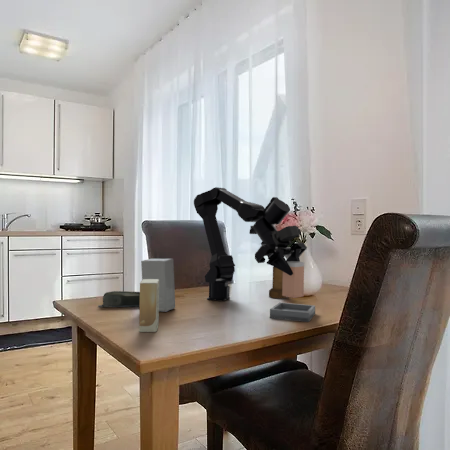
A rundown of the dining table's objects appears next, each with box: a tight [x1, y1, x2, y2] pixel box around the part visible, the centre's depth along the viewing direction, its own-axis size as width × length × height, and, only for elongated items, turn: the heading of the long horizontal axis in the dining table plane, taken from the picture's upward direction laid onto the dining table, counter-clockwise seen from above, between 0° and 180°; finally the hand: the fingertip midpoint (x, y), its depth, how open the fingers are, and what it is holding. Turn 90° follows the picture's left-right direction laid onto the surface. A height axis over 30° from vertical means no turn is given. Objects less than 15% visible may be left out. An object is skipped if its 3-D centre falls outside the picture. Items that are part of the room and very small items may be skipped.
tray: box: [269, 301, 316, 323], centre depth 113 cm, size 11×11×2 cm
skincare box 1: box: [140, 258, 176, 313], centre depth 119 cm, size 8×7×16 cm
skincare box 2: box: [138, 279, 160, 333], centre depth 97 cm, size 6×4×12 cm
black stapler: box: [97, 290, 140, 308], centre depth 123 cm, size 5×3×15 cm
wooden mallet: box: [268, 266, 287, 299], centre depth 144 cm, size 7×6×18 cm
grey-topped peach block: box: [282, 261, 305, 299], centre depth 113 cm, size 4×4×10 cm
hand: (297, 273), depth 112 cm, fingers closed on grey-topped peach block, 4 cm apart
